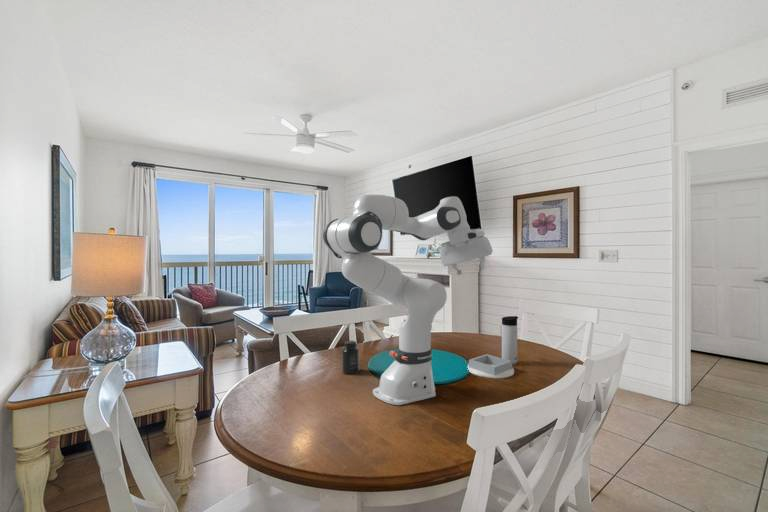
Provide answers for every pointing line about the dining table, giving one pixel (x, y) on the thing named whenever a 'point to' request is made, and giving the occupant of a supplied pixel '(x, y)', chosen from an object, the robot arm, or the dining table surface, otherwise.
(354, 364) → the supplement bottle
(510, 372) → the stand
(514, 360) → the travel mug
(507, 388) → the dining table surface
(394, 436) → the dining table surface
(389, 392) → the robot arm
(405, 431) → the dining table surface
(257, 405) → the dining table surface
